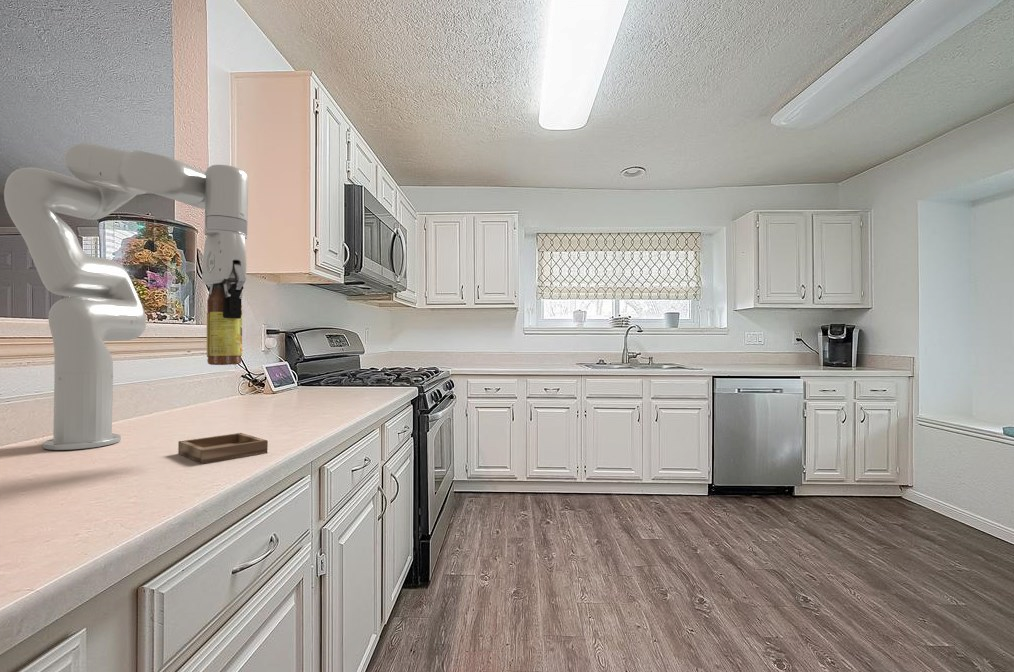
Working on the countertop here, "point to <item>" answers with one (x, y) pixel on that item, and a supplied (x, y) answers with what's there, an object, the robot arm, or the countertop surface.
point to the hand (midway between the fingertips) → (224, 317)
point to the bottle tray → (222, 447)
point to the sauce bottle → (222, 331)
